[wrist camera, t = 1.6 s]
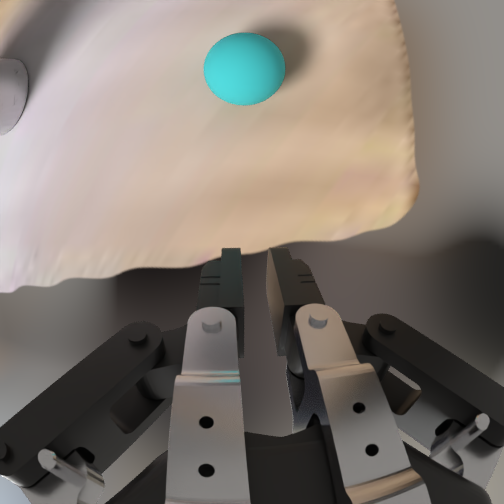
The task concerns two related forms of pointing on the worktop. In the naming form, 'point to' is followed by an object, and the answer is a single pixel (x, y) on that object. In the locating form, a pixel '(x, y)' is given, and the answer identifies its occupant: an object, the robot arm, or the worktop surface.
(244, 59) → the ball
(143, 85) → the worktop surface
